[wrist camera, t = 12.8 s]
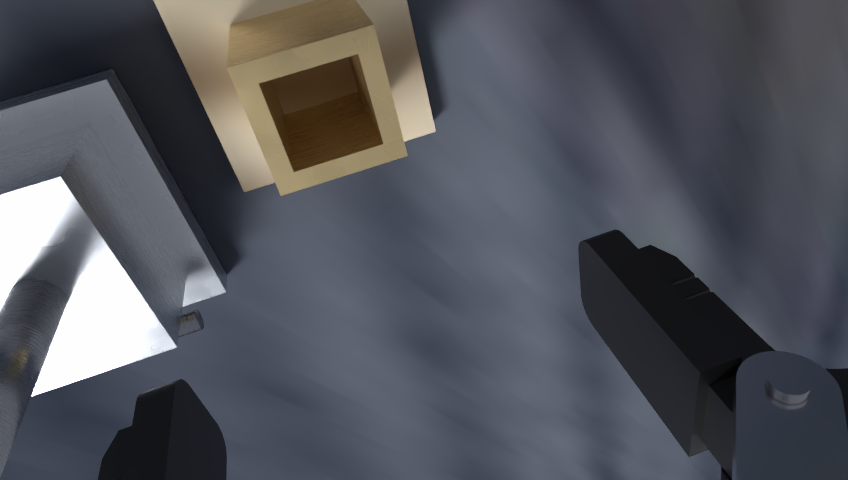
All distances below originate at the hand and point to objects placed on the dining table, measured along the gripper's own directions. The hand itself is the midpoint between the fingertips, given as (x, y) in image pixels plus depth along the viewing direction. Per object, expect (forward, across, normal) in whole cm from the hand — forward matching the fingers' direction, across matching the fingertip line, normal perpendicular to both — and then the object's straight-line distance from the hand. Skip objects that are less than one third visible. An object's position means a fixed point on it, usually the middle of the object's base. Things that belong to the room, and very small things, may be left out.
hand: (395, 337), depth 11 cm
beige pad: (+19, 0, 0) cm, 19 cm away
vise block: (+19, +13, +4) cm, 24 cm away
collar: (+18, 0, 0) cm, 18 cm away
